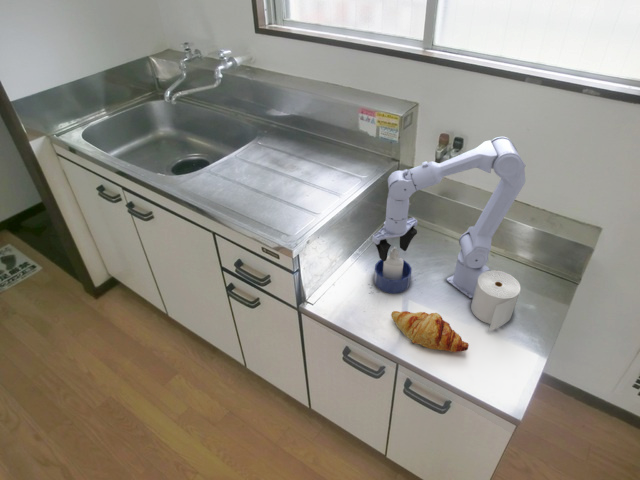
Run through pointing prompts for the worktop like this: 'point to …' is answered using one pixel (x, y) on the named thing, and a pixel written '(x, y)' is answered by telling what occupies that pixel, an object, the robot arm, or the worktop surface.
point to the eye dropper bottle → (393, 266)
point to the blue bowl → (392, 285)
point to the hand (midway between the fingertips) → (393, 254)
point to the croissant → (429, 331)
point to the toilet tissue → (495, 298)
